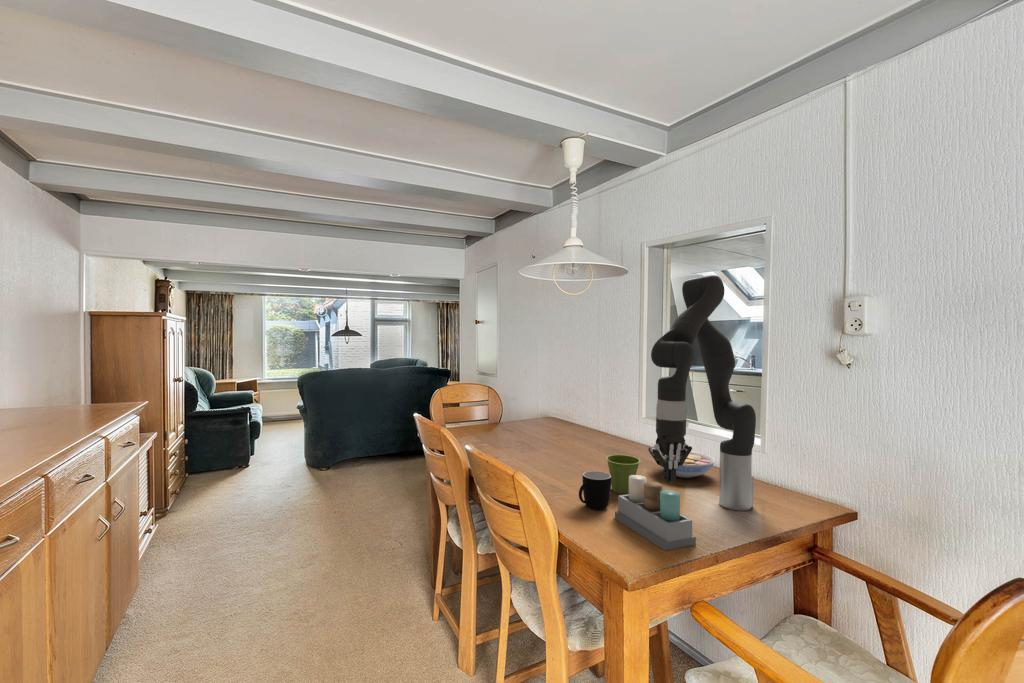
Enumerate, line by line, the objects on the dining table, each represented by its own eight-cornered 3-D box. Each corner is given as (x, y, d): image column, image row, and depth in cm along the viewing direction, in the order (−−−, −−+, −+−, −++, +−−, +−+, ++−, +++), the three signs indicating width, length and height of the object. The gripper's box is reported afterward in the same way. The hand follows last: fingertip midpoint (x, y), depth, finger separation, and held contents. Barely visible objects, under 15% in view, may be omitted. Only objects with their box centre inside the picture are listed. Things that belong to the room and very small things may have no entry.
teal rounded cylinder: (671, 512, 123) (671, 489, 123) (684, 519, 118) (684, 495, 118) (656, 515, 121) (656, 491, 121) (668, 522, 116) (669, 497, 116)
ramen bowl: (720, 488, 161) (720, 465, 161) (653, 482, 168) (653, 460, 168) (710, 469, 185) (710, 449, 185) (652, 464, 192) (652, 445, 192)
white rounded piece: (639, 495, 136) (639, 474, 136) (649, 501, 131) (650, 479, 131) (625, 497, 134) (625, 475, 134) (635, 503, 129) (635, 481, 129)
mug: (596, 499, 149) (596, 469, 149) (616, 508, 142) (617, 476, 142) (569, 507, 142) (569, 475, 142) (589, 516, 135) (590, 483, 135)
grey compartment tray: (642, 513, 138) (642, 492, 138) (695, 544, 118) (696, 519, 118) (614, 517, 135) (615, 496, 134) (664, 550, 114) (664, 525, 114)
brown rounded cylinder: (654, 503, 129) (654, 481, 129) (666, 510, 125) (666, 486, 125) (639, 506, 127) (640, 483, 127) (651, 512, 123) (651, 488, 123)
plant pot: (603, 494, 154) (603, 461, 154) (607, 483, 166) (607, 453, 165) (639, 498, 151) (639, 465, 150) (641, 487, 162) (641, 456, 162)
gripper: (681, 413, 125) (679, 475, 125) (641, 415, 120) (640, 480, 121) (701, 418, 118) (699, 483, 118) (660, 420, 113) (658, 489, 114)
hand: (669, 481), depth 119 cm, fingers closed
